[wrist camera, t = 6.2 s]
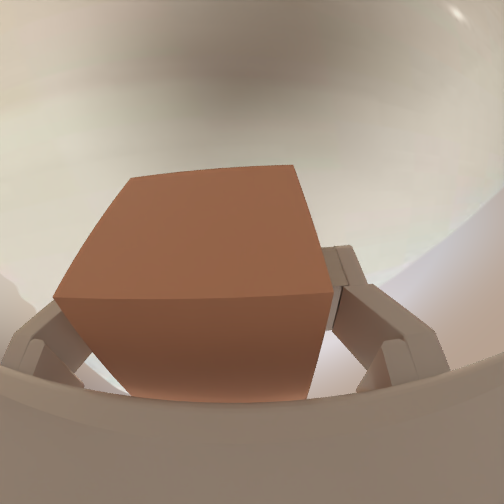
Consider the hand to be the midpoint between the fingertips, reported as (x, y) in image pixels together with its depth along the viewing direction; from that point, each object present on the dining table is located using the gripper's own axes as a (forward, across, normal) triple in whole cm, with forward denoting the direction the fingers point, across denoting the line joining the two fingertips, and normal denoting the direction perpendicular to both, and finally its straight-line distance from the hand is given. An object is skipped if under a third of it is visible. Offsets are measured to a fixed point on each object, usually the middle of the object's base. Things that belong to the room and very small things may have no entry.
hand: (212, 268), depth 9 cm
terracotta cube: (+2, 0, 0) cm, 2 cm away
